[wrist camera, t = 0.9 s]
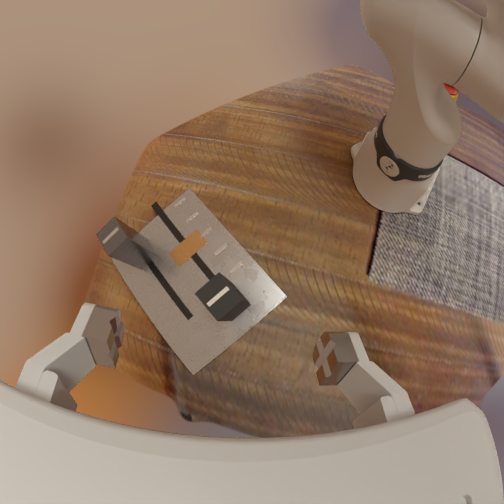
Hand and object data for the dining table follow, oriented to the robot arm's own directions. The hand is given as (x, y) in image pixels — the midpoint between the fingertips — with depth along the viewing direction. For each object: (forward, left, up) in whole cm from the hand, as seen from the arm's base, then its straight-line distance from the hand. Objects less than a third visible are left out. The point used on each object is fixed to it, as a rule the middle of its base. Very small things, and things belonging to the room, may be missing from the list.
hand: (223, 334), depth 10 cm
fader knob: (+2, -6, -33) cm, 33 cm away
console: (+5, -15, -35) cm, 38 cm away
